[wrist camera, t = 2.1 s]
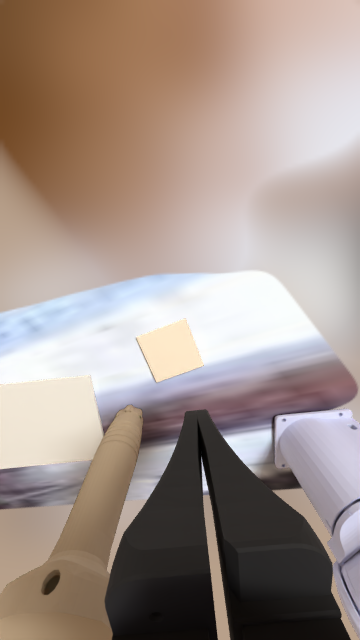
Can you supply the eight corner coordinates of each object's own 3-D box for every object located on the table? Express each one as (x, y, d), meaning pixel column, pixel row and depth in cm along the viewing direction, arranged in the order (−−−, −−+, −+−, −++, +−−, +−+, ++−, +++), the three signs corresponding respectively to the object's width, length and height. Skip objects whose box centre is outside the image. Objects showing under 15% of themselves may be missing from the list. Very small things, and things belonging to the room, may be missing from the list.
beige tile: (185, 317, 21) (185, 318, 20) (202, 362, 22) (203, 365, 21) (138, 335, 22) (136, 337, 21) (157, 378, 23) (156, 382, 22)
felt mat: (90, 374, 22) (89, 376, 22) (109, 456, 24) (108, 458, 24) (-72, 391, 22) (-75, 393, 22) (-37, 470, 25) (-39, 472, 24)
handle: (158, 429, 24) (124, 672, 9) (108, 432, 24) (-7, 678, 9) (155, 396, 23) (111, 609, 8) (103, 399, 23) (-36, 615, 8)
